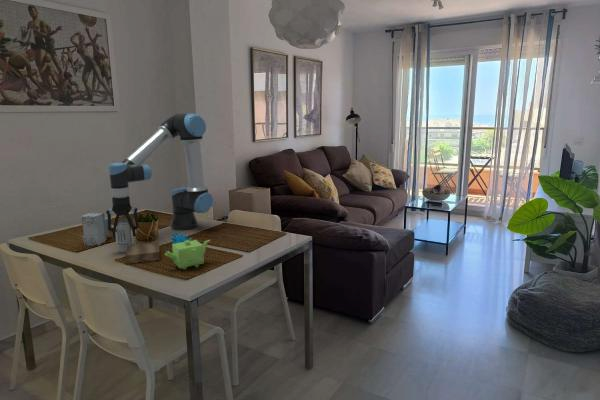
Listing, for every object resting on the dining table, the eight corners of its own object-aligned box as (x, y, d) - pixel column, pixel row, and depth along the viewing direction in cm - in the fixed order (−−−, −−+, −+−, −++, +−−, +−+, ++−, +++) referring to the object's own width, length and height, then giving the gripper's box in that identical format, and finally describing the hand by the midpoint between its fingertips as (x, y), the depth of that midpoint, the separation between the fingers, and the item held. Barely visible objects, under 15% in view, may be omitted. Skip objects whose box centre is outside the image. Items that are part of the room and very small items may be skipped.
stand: (159, 250, 196) (158, 242, 196) (160, 260, 184) (159, 251, 183) (127, 254, 192) (127, 246, 191) (126, 264, 179) (125, 255, 178)
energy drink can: (116, 253, 193) (113, 222, 190) (122, 249, 199) (119, 219, 196) (129, 253, 193) (126, 222, 190) (134, 249, 199) (132, 219, 196)
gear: (177, 249, 193) (169, 232, 197) (171, 256, 196) (163, 239, 200) (196, 247, 202) (188, 230, 205) (190, 253, 205) (183, 237, 208)
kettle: (211, 261, 182) (210, 237, 180) (198, 273, 169) (197, 247, 166) (180, 259, 185) (179, 235, 183) (165, 270, 171) (163, 245, 169)
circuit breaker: (113, 237, 219) (110, 210, 216) (98, 245, 205) (94, 216, 202) (100, 237, 220) (97, 209, 217) (83, 245, 206) (80, 216, 203)
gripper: (142, 193, 197) (146, 239, 202) (99, 196, 191) (104, 243, 196) (142, 196, 190) (146, 243, 195) (97, 199, 184) (102, 248, 189)
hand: (125, 243), depth 195 cm, fingers closed on energy drink can, 6 cm apart
